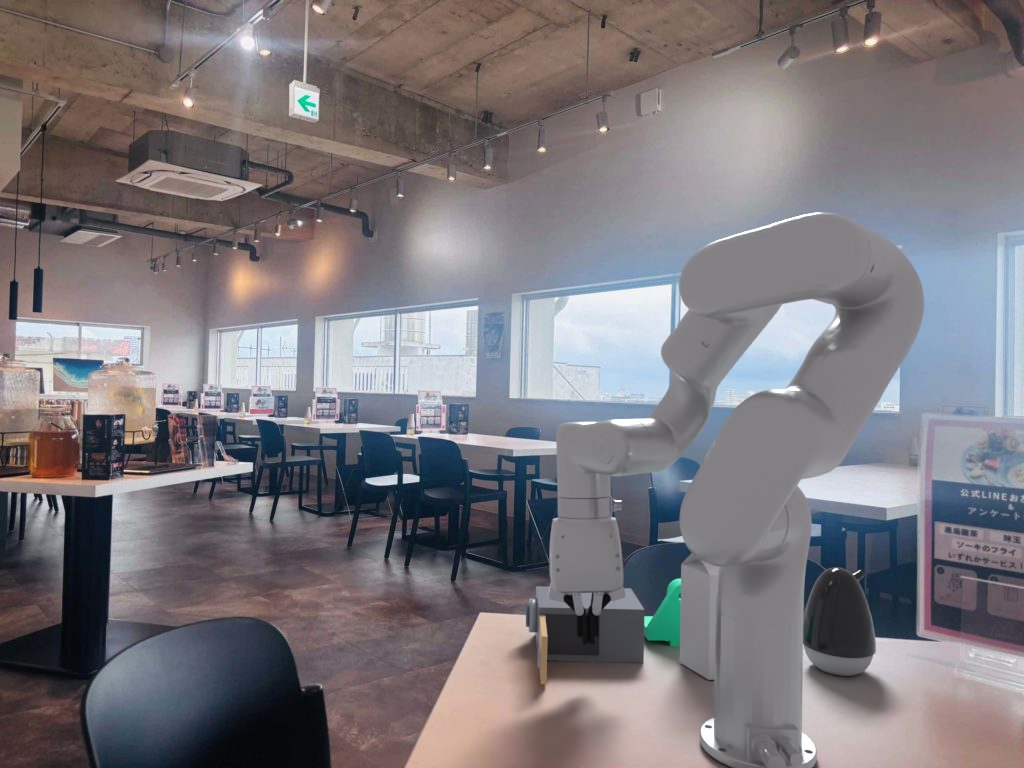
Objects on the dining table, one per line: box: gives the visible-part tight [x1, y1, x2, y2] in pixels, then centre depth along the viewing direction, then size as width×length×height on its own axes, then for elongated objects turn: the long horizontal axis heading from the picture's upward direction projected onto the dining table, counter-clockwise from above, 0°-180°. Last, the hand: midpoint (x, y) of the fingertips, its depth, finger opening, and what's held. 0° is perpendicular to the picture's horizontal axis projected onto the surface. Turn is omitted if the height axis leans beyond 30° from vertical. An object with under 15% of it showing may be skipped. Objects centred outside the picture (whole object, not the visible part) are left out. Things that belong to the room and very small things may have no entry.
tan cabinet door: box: [537, 615, 548, 685], centre depth 101 cm, size 1×10×6 cm, turn 179°
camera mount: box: [644, 578, 681, 647], centre depth 118 cm, size 12×8×10 cm, turn 92°
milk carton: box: [679, 552, 719, 681], centre depth 105 cm, size 7×7×19 cm
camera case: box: [525, 585, 645, 664], centre depth 112 cm, size 12×18×9 cm
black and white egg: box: [803, 566, 877, 677], centre depth 106 cm, size 10×10×15 cm
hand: (587, 641), depth 98 cm, fingers closed
